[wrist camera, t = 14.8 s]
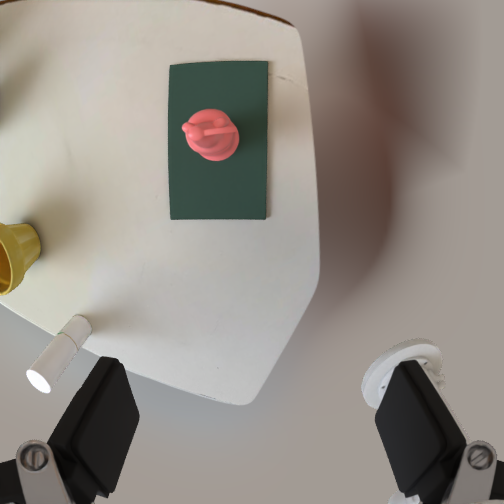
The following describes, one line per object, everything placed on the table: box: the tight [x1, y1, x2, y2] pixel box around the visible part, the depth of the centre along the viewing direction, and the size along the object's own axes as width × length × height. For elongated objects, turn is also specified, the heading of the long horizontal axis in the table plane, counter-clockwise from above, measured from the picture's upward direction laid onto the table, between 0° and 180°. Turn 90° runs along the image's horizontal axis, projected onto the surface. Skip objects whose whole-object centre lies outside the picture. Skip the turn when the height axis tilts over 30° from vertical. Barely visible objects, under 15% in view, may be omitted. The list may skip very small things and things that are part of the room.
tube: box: [26, 315, 92, 393], centre depth 36 cm, size 4×4×15 cm
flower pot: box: [0, 223, 41, 295], centre depth 33 cm, size 10×10×10 cm
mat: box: [168, 61, 268, 220], centre depth 33 cm, size 12×20×1 cm, turn 179°
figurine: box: [182, 109, 239, 161], centre depth 26 cm, size 5×5×15 cm
